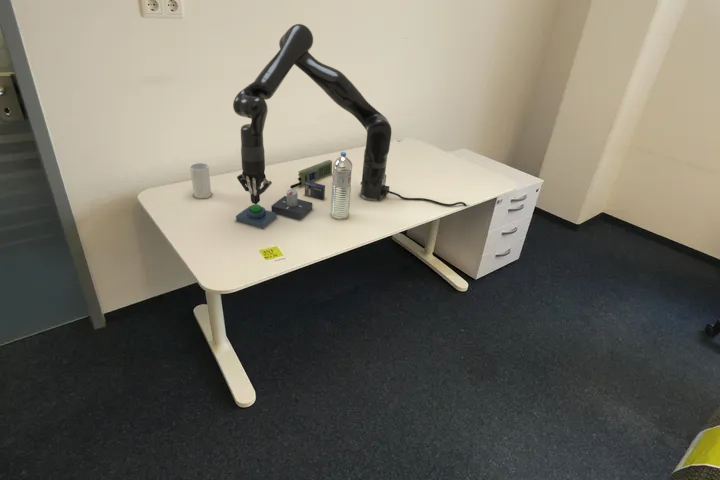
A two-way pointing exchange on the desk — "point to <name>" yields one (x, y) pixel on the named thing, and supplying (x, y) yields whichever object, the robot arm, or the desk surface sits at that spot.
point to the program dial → (292, 198)
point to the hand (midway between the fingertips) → (255, 202)
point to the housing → (256, 217)
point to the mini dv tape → (314, 190)
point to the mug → (200, 180)
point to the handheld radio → (314, 173)
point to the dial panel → (292, 208)
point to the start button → (255, 208)
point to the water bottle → (341, 187)
